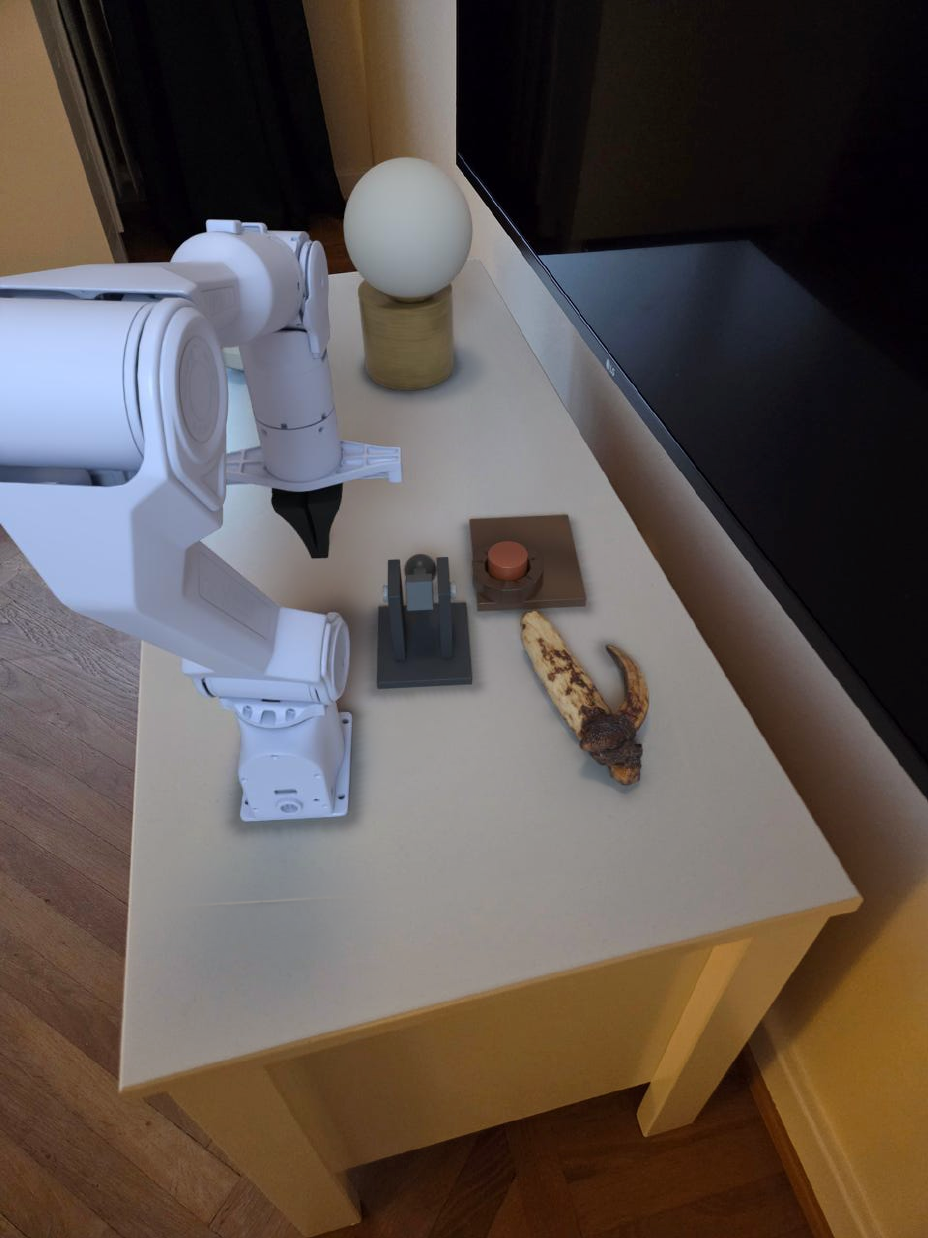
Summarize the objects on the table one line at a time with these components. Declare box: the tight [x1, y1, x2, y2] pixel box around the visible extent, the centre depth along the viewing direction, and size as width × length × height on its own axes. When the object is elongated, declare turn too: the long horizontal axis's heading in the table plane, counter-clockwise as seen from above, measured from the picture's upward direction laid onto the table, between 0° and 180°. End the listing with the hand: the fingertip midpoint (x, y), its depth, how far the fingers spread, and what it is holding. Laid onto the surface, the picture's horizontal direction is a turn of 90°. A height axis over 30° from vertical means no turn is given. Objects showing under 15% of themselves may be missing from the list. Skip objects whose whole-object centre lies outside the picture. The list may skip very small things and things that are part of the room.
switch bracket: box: [376, 556, 473, 690], centre depth 71 cm, size 9×8×9 cm
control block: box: [468, 514, 587, 612], centre depth 80 cm, size 12×10×3 cm
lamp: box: [343, 156, 474, 391], centre depth 96 cm, size 15×14×25 cm
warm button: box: [488, 541, 528, 581], centre depth 76 cm, size 4×4×2 cm
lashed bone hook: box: [520, 610, 650, 786], centre depth 68 cm, size 9×5×18 cm
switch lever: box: [403, 553, 437, 611], centre depth 73 cm, size 11×3×3 cm
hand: (320, 550), depth 69 cm, fingers closed
